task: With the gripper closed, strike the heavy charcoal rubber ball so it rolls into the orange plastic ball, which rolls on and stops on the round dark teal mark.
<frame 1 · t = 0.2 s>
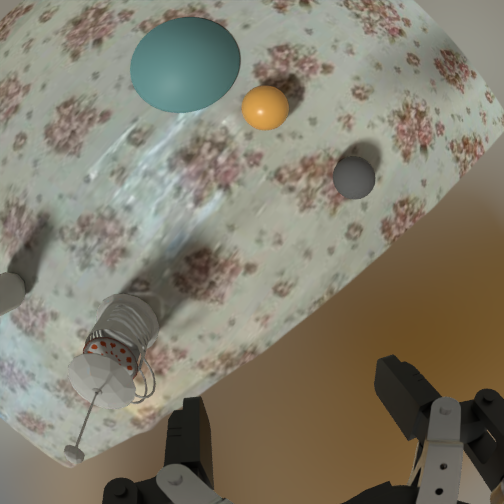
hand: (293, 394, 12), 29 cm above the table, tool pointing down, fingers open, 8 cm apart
charcoal ball: (354, 177, 37), on the table
french press: (131, 327, 42), on the table
orange ball: (265, 107, 33), on the table
teal mark: (184, 62, 33), on the table
salt shaker: (16, 284, 38), on the table
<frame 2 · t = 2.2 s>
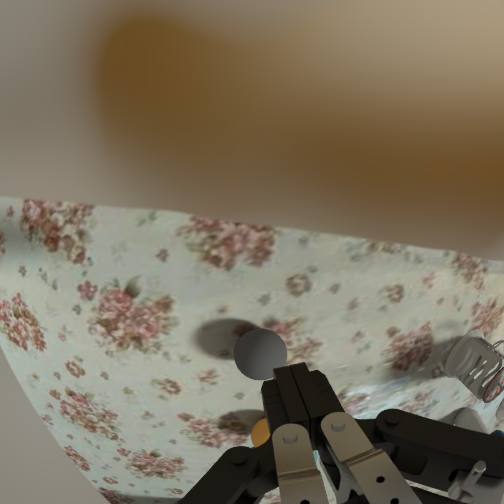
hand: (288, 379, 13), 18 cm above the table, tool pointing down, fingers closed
charcoal ball: (260, 354, 31), on the table
french press: (466, 349, 41), on the table
orange ball: (272, 435, 35), on the table
soda can: (491, 436, 56), on the table
salt shaker: (460, 414, 47), on the table
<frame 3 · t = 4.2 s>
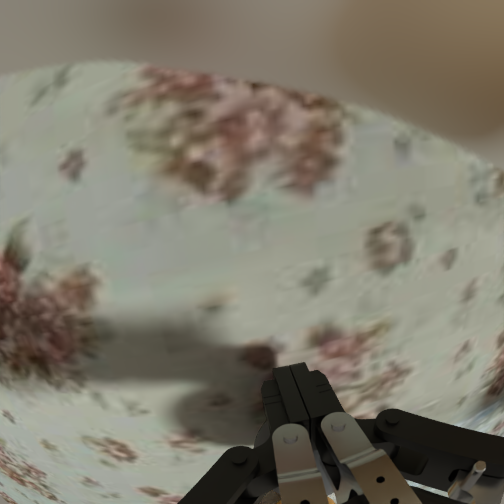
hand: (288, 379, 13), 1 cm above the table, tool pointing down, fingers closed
charcoal ball: (308, 451, 13), on the table, touching gripper
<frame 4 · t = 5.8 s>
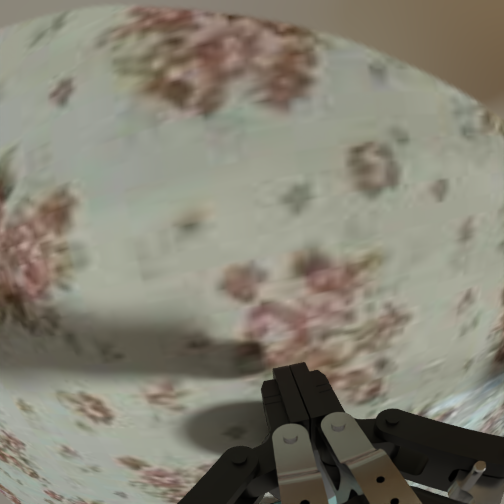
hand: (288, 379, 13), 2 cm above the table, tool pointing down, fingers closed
charcoal ball: (306, 461, 14), on the table
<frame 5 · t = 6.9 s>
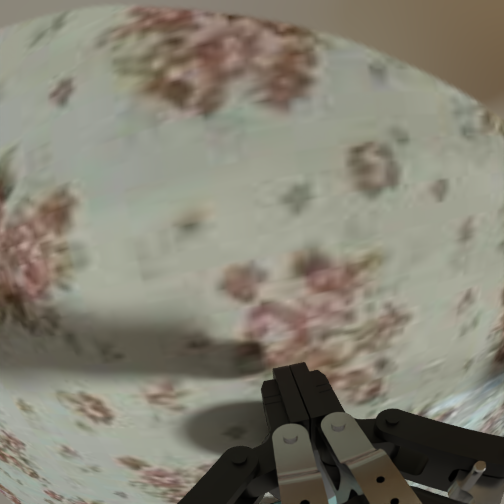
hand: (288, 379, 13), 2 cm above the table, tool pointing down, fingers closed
charcoal ball: (306, 461, 14), on the table
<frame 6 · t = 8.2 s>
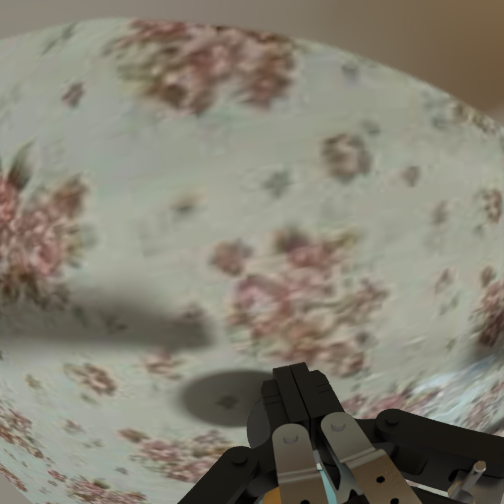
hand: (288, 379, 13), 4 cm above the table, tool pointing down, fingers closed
charcoal ball: (293, 429, 16), on the table
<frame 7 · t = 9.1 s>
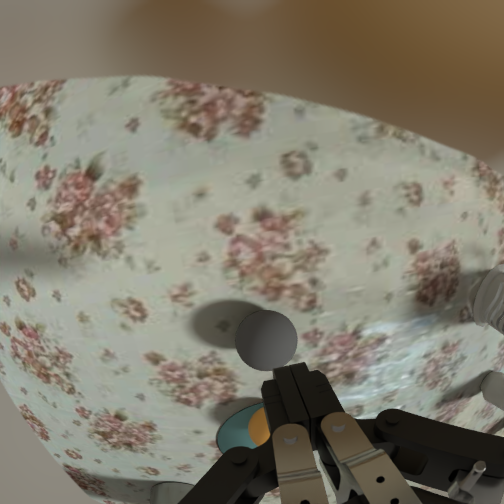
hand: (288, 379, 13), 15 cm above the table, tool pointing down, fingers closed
charcoal ball: (266, 340, 27), on the table
french press: (495, 289, 34), on the table
orange ball: (272, 428, 30), on the table
teal mark: (272, 437, 34), on the table
salt shaker: (487, 379, 40), on the table
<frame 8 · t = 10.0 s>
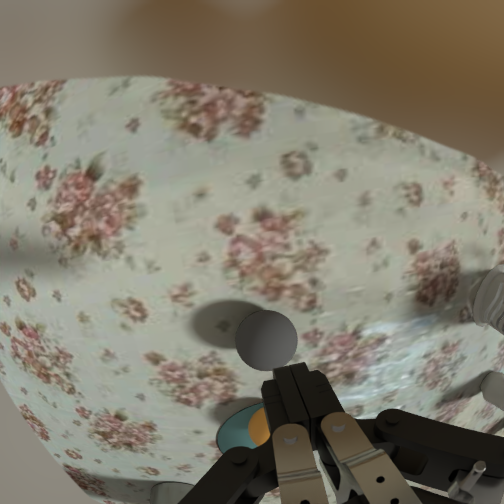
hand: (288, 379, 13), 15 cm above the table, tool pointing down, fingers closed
charcoal ball: (266, 340, 27), on the table
french press: (494, 290, 34), on the table
orange ball: (272, 428, 30), on the table
teal mark: (272, 437, 34), on the table
salt shaker: (487, 379, 40), on the table
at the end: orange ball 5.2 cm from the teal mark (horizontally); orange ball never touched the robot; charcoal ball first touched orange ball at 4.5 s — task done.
